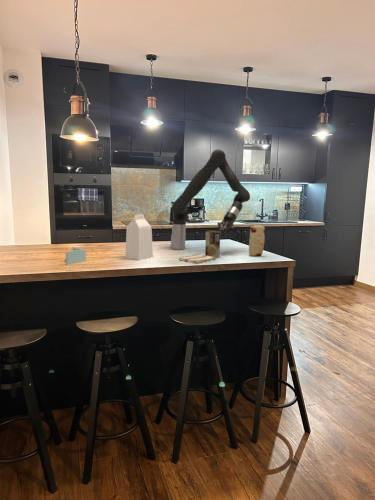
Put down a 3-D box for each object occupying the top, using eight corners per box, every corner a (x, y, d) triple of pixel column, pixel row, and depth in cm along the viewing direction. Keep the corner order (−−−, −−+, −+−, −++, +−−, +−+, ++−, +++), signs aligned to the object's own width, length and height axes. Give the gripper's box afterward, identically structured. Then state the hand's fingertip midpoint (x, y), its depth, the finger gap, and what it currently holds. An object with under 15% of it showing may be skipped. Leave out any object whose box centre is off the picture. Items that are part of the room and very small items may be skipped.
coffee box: (219, 256, 226) (220, 230, 223) (219, 258, 220) (220, 232, 217) (205, 255, 227) (206, 230, 224) (204, 257, 221) (205, 231, 218)
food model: (249, 256, 226) (251, 225, 223) (247, 254, 233) (248, 224, 229) (264, 257, 227) (266, 225, 223) (261, 254, 234) (263, 224, 230)
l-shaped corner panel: (74, 259, 208) (73, 246, 207) (86, 262, 201) (85, 249, 199) (55, 262, 199) (54, 249, 198) (67, 266, 192) (66, 252, 190)
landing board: (179, 260, 211) (179, 257, 211) (197, 256, 224) (197, 253, 223) (197, 264, 202) (197, 261, 202) (215, 259, 215) (215, 257, 214)
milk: (138, 260, 207) (139, 215, 202) (125, 257, 214) (125, 214, 209) (152, 257, 216) (153, 214, 212) (139, 254, 223) (139, 213, 218)
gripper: (221, 210, 235) (209, 230, 228) (238, 212, 226) (225, 232, 219) (225, 218, 240) (213, 237, 233) (242, 219, 231) (230, 240, 224)
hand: (219, 235), depth 226 cm, fingers closed
